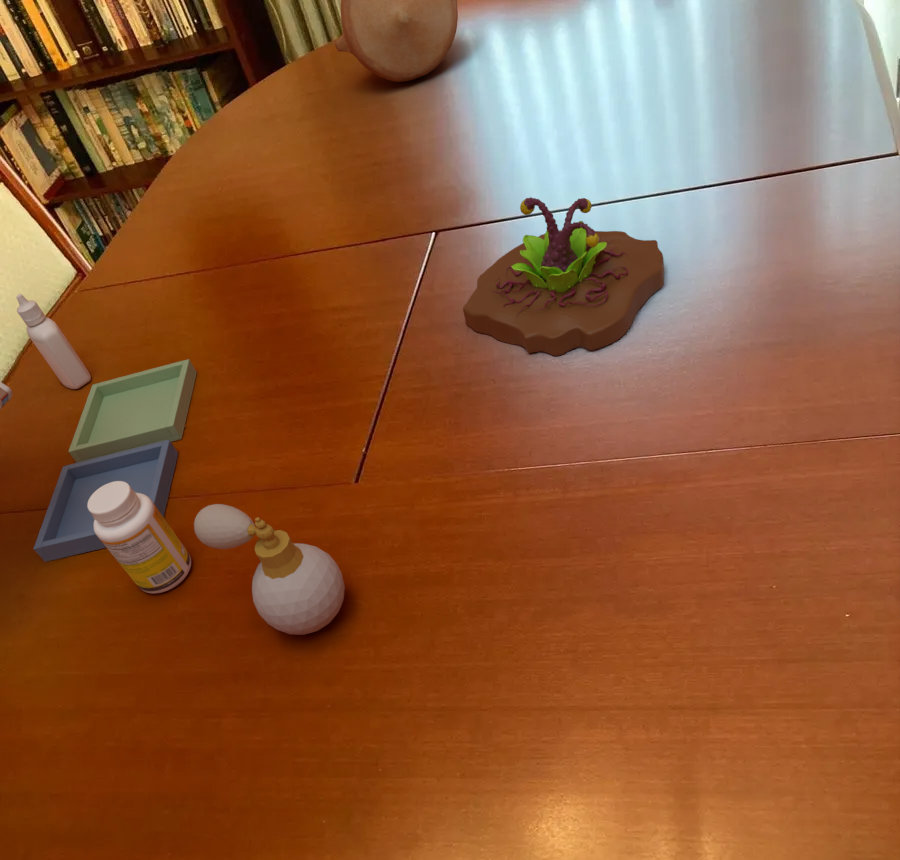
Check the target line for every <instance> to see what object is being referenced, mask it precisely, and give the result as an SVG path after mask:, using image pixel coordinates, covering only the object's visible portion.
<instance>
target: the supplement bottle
mask: <svg viewBox="0 0 900 860" xmlns="http://www.w3.org/2000/svg"><path fill="white" fill-rule="evenodd" d="M87 507H88V510H89V511H90V513H91V514H92V515H93V518H94V519H95V520H94V531H95V534H96V535H97V537H98V538H99V539H100V540H101V542H102V543H103V544H104V545H105V546H106V548H105V549H107V551H108V552H109V553H110V554H111V555H112V556H113V558H114V559H115V561H116V562H117V563H118V564H119V565H120V567H122V569H123V570H124V571H125V572H126V574H127V575H128V576H129V578H130V579H131V580H132V581H133V583H134V584H135V585H136V586H137V587H138V588H139V589H140V591H143V592H145V593H148V594H154V595H155V594H162V593H166V592H168V591H170V590H173V589H174V588H175V587H177V586H178V585H180V584H181V583H182V582H183V581H184V580H185V579H186V577H187V576H188V575H189V572H190V570H191V567H192V558H191V555H190V553H189V551H188V550H187V549H186V547H185V545H184V544H183V543H182V541H181V540H180V539H179V537H178V535H176V533H175V531H174V530H173V529H172V527H171V525H170V524H169V523H168V522H167V520H166V519H165V518H164V517H163V516H162V515H161V513H160V512H159V510H158V509H157V508H156V506H155V505H154V503H153V502H152V501H151V499H150V498H149V497H148V496H146V495H144V494H141V493H135V492H134V491H133V490H132V488H131V487H130V486H129V484H127V483H126V482H123V481H114V482H111V483H108V484H105V485H103V486H102V487H100V488H99V489H97V490H96V491H95V492H94V493H93V494H92V495H91V497H90V498H89V500H88V504H87Z"/></svg>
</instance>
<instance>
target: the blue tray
mask: <svg viewBox="0 0 900 860" xmlns="http://www.w3.org/2000/svg"><path fill="white" fill-rule="evenodd" d="M178 456H179V452H178V451H177V449H176V448H175V446H174V445H173V443H172V442H171V441H170V440H166V441H162V442H158V443H154V444H150V445H146V446H142V447H138V448H134V449H130V450H126V451H122V452H118V453H114V454H110V455H106V456H102V457H98V458H94V459H90V460H86V461H82V462H78V463H76V462H74V463H70V464H66V465H63V466H62V468H61V471H60V474H59V477H58V479H57V482H56V485H55V488H54V491H53V493H52V495H51V498H50V502H49V504H48V507H47V509H46V512H45V515H44V518H43V522H42V523H41V526H40V529H39V532H38V535H37V538H36V540H35V543H34V546H33V550H34V551H35V553H36V554H37V555H38V556H39V557H40V558H41V559H42V561H43V562H44V563H47V562H51V561H55V560H59V559H64V558H68V557H72V556H76V555H80V554H85V553H90V552H94V551H97V550H102V549H107V548H106V546H105V545H104V544H103V543H102V542H101V540H100V539H99V538H98V537H97V535H96V534H95V531H94V520H95V519H94V518H93V515H92V514H91V513H90V511H89V510H88V507H87V504H88V500H89V498H90V497H91V495H92V494H93V493H94V492H95V491H96V490H97V489H99V488H100V487H102V486H103V485H105V484H108V483H111V482H114V481H123V482H126V483H127V484H129V486H130V487H131V488H132V490H133V491H134V492H135V493H141V494H144V495H146V496H148V497H149V498H150V499H151V501H152V502H153V503H154V505H155V506H156V508H157V509H158V510H159V512H160V513H161V515H162V516H163V518H164V517H165V513H166V509H167V504H168V500H169V495H170V490H171V486H172V482H173V477H174V474H175V469H176V465H177V461H178Z"/></svg>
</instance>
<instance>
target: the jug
mask: <svg viewBox="0 0 900 860" xmlns="http://www.w3.org/2000/svg"><path fill="white" fill-rule="evenodd" d="M458 20H459V12H458V0H340V21H341V27H342V34H341V35H340V37H338V39H336V40H334V41H335V42H334V46H335V49H336V50H337V51H338V52H339V53H340V52H341V53H342V52H346V53H349V54H351V55H353V57H354V58H355V59H356V60H357V61H358V62H359V63H360V64H361V65H362V66H363V67H364V68H366V69H367V70H368V71H369V72H370V73H372V74H374V75H376V76H378V77H379V78H381V79H385V80H387V81H391V82H394V83H395V82H396V83H400V82H408V81H414V80H416V79H418V78H421V77H424V76H426V75H429V74H430V73H431V72H432V71H433V70H435V69H436V68H437V67H438V66H439V65H440V64H442V62H443V61H444V59H445V58H446V56H447V54H448V52H449V50H450V49H451V47H452V45H453V42H454V40H455V37H456V34H457V28H458Z"/></svg>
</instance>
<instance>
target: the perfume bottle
mask: <svg viewBox="0 0 900 860" xmlns="http://www.w3.org/2000/svg"><path fill="white" fill-rule="evenodd" d="M254 521H255V522H254ZM254 521H253V519H252V518H251V517H250V516H249V515H248V514H247V513H245V512H244V511H242V510H240V509H238V508H236V507H235V506H232V505H228V504H224V503H213V504H209V505H206V506H205V507H203V508H201V509H200V510H199V512H198V513H197V514H196V517H195V518H194V522H193V529H194V534H195V536H196V537H197V539H198V541H200V542H201V543H202V544H203V545H205V546H207V547H209V548H212V549H215V550H216V549H217V550H228V549H235V548H237V547H241V546H243V545H244V544H247V543H248V542H250V540H252V539H253V538H254V536H255V535H256V537H257V538H259V539H258V540H256V542H255V545H254V548H253V549H254V552H255V555H256V556H257V558H258V560H259V561H260V562H259V563H258V564H257V567H256V569H255V571H254V574H253V576H252V583H251V595H252V596H251V597H252V603H253V604H254V606H255V608H256V611H257V613H258V615H259V616H260V617H261V618H262V619H263V620H264V622H266V624H267V625H268V626H271V627H272V628H274V629H275V630H277V631H279V632H282V633H285V634H287V635H296V636H297V635H298V636H305V635H307V634H308V635H309V634H311V633H312V634H313V633H316V632H319V631H320V630H322V629H323V628H324V627H326V626H328V625H329V624H330V623H331V622H332V621H333V620H334V618H336V616H337V615H338V613H339V612H340V609H341V608H342V605H343V603H344V599H345V591H346V590H345V589H346V587H345V581H344V578H343V577H344V576H343V573H342V571H341V569H340V567H339V565H338V563H337V562H336V561H335V560H334V559H333V557H332V556H331V555H330V554H329V553H328V552H326V551H324V550H323V549H321V548H319V547H318V546H316V545H311V544H308V543H300V542H299V543H298V542H297V543H295V542H293V541H292V539H291V537H290V535H289V534H288V532H286V531H284V530H281V529H276V530H274V527H273V526H271V525H270V524H267V523H266V521H265V520H264V519H261V518H260V517H259V516H258V517H255V519H254Z"/></svg>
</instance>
